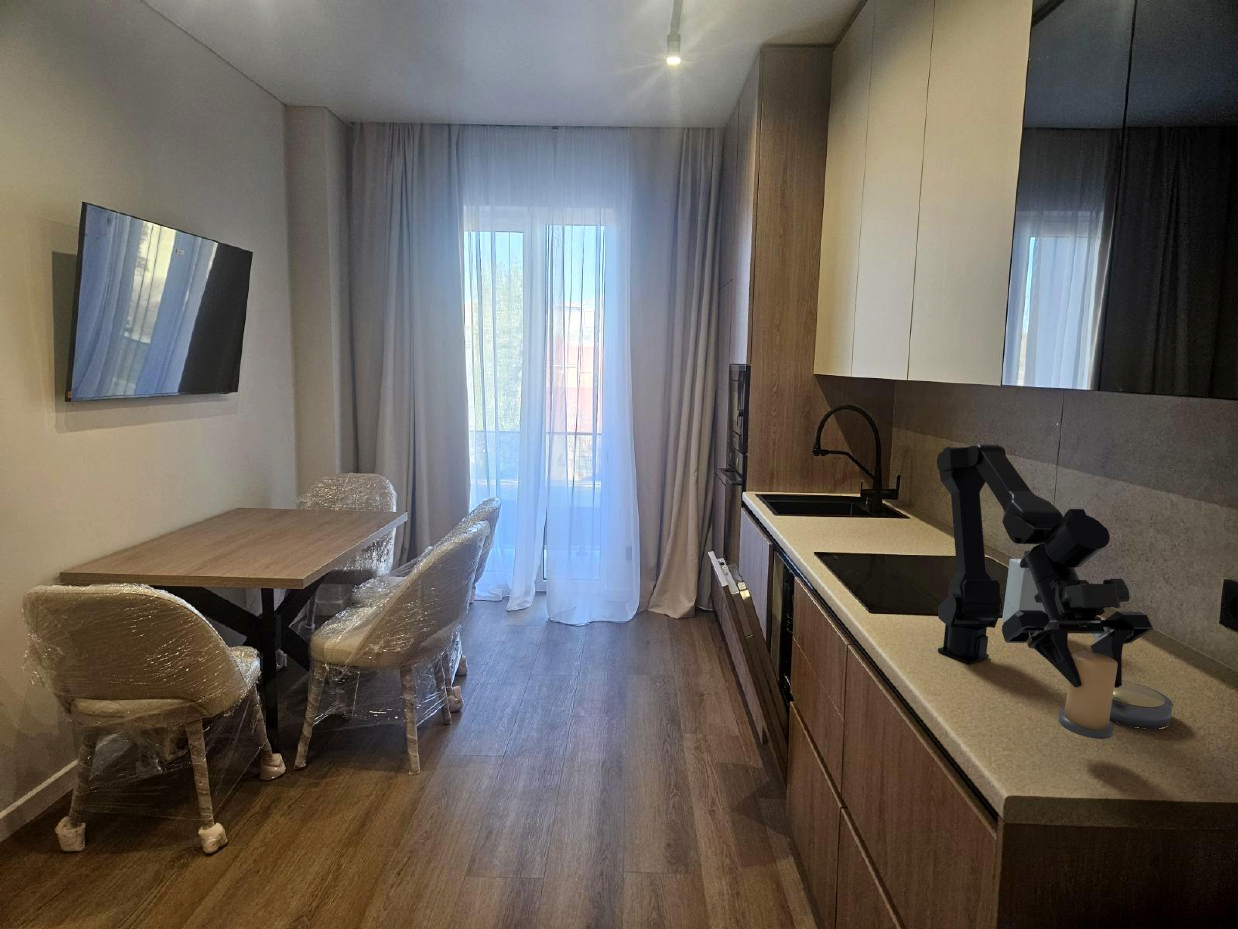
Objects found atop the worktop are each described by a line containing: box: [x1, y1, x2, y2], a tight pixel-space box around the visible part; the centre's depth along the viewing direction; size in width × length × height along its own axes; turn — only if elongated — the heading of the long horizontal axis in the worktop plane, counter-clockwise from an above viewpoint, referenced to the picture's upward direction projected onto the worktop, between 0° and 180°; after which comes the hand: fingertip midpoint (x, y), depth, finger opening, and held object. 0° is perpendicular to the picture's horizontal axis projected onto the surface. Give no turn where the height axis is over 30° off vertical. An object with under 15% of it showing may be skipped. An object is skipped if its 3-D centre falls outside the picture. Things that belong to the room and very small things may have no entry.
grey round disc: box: [1110, 679, 1174, 729], centre depth 113 cm, size 11×11×3 cm
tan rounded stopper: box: [1057, 650, 1118, 740], centre depth 99 cm, size 6×6×10 cm
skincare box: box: [1001, 558, 1046, 639], centre depth 144 cm, size 8×6×15 cm
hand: (1098, 686), depth 97 cm, fingers closed on tan rounded stopper, 5 cm apart
